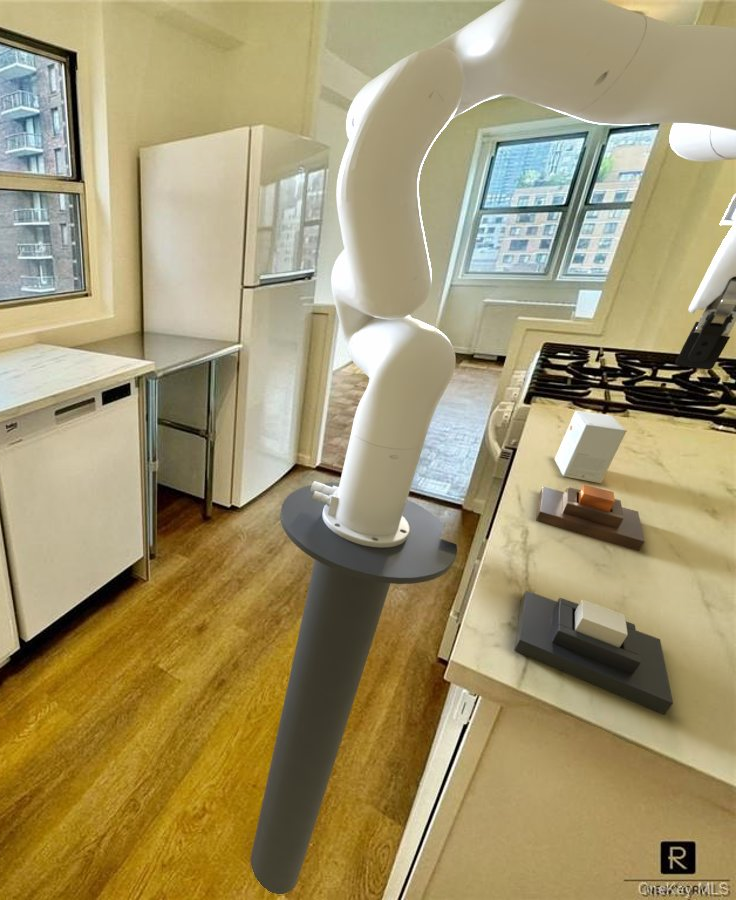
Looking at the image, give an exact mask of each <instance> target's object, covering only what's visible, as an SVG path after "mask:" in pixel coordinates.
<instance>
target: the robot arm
mask: <svg viewBox="0 0 736 900" xmlns="http://www.w3.org/2000/svg"><path fill="white" fill-rule="evenodd" d="M500 96H509V97H512V98H515V99H518V100H521V101H525V102H528V103H531V104H535V105H537V106H540V107H543V108H546V109H548V110H551V111H555V112H557V113H561V114H563V115H566V116H570V117H572V118H575V119H578V120H581V121H584V122H586V123H590V124H597V125H608V126H609V125H611V126H640V125H641V126H642V125H655V124H656V125H657V124H672V125H671V128H670V132H669V144H670V147H671V149H672V151H674V153H676V155H677V156H679V157H681V158H682V159H685V160H687V161H693V162H699V163H700V162H702V163H704V162H706V163H707V162H708V163H709V162H721V161H730V160H731V161H732V160H736V26H722V25H712V24H711V25H710V24H680V23H679V24H678V23H671V22H667V21H664V20H661V19H658V18H653V17H651V16H648V15H645V14H643V13H639V12H637V11H634V10H631V9H628V8H625V7H622V6H619V5H617V4H614V3H612V2H609V1H606V0H504V1H502V2H500V3H498V4H496V5H495V6H493V7H492V8H491V9H489V10H488V11H486V12H485V13H483V14H481V15H480V16H478V17H477V18H475V19H474V20H472V21H471V22H469V23H468V24H466V25H465V26H463V27H462V28H460V29H458V30H457V31H455V32H453V33H452V34H451V35H449V36H447V37H446V38H444V39H443V40H441V41H439V42H438V43H436V44H434V45H433V46H431V47H427V48H423V49H420V50H417V51H414V52H413V53H411V54H409V55H408V56H405V57H404V58H401V59H400V60H398V61H397V62H395V63H394V64H392V65H391V66H389V68H387V69H385V71H383V72H382V73H380V74H378V75H377V76H375V77H373V78H372V79H371V80H370V81H368V82H367V83H366V84H365V85H364V86H363V87H362V88H361V89H359V91H358V92H357V94H356V95H355V97H354V98H353V100H352V102H351V104H350V106H349V109H348V111H347V116H346V120H345V130H346V131H345V132H346V136H347V140H348V142H347V145H346V148H345V149H344V153H343V155H342V159H341V163H340V166H339V171H338V174H337V181H336V190H335V191H336V192H335V194H336V210H337V215H338V216H337V217H338V222H339V227H340V234H341V239H342V244H343V249H342V251H341V252H340V254H339V255H338V256H337V258H336V260H335V262H334V265H333V267H332V270H331V276H330V277H331V278H330V286H331V293H332V297H333V302H334V306H335V310H336V314H337V318H338V321H339V325H340V329H341V333H342V337H343V341H344V344H345V348H346V350H347V352H348V355H349V357H350V359H351V361H352V362H353V363H354V365H355V366H356V367H357V368H358V369H359V370H360V371H361V372H362V373H363V374H365V375H366V376H367V377H368V378H369V379H368V384H367V387H366V388H365V391H364V393H363V395H362V397H361V399H360V401H359V403H358V405H357V407H356V410H355V413H354V418H353V421H352V426H351V432H350V436H349V441H348V446H347V448H346V453H345V458H344V462H343V467H342V471H341V476H340V480H339V483H340V484H339V487H336V486H333V487H330V486H327V485H325V484H322V483H323V482H319V481H315V480H314V481H313V482H312V484H311V485H312V486H311V492H313V493H314V494H313V499H315V500H318V501H322V502H325V503H326V505H325V506H324V509H323V514H322V516H323V520H324V522H325V524H326V525H327V526H328V528H330V529H331V530H332V531H333V532H334V533H336V534H337V535H339V536H340V537H342V538H344V539H346V540H348V541H351V542H354V543H357V544H360V545H364V546H369V547H378V548H386V547H393V546H397V545H400V544H402V543H403V542H405V541H406V539H407V538H408V535H409V532H410V527H409V524H408V522H407V521H406V520H405V518H404V517H403V516H402V514H403V511H404V508H405V504H406V501H407V500H408V497H409V494H410V490H411V487H412V484H413V481H414V478H415V474H416V471H417V467H418V465H419V461H420V458H421V455H422V451H423V448H424V445H425V441H426V439H427V434H428V432H429V427H430V425H431V422H432V419H433V417H434V414H435V412H436V409H437V407H438V404H439V403H440V401H441V399H442V396H443V395H444V393H446V392H445V391H446V390H447V388H448V386H449V384H450V383H451V380H452V378H453V376H454V372H455V370H456V361H457V360H456V352H455V349H454V347H453V344H452V343H451V340H450V339H449V338H448V337H447V336H446V335H445V334H444V333H443V332H442V331H440V330H439V329H438V328H435V327H434V326H432V325H430V324H427V323H426V322H423V321H421V320H419V319H416V318H413V317H411V315H412V314H414V313H416V312H417V311H418V310H419V309H420V308H421V307H422V306H423V305H424V304H425V303H426V301H427V299H428V297H429V295H430V292H431V289H432V282H433V281H432V267H431V261H430V258H429V252H428V246H427V242H426V236H425V231H424V230H425V229H424V226H423V220H422V214H421V205H420V196H419V195H420V193H419V184H420V183H419V182H420V175H421V170H422V167H423V164H424V161H425V159H426V157H427V155H428V153H429V151H430V149H431V147H432V146H433V144H434V142H435V141H436V139H437V138H438V137H439V135H440V134H441V132H443V131H444V129H445V128H446V127H447V125H448V124H449V123H450V122H451V120H452V119H455V118H456V117H458V116H461V114H463V113H465V112H467V111H468V110H470V109H472V108H474V107H477V105H480V104H481V103H483V102H486V101H487V102H488V101H489V100H492V99H496V98H498V97H500ZM719 225H720V226H732V227H731V228H730V230H729V231H728V233H727V235H726V236H725V238H724V239H723V240H722V242H721V245H720V246H719V248H718V249H717V252H716V253H715V255H714V257H713V259H712V261H711V263H710V265H709V267H708V269H707V270H706V272H705V275H704V277H703V278H702V281H701V282H700V284H699V286H698V289H697V290H696V292H695V294H694V296H693V299H692V300H691V302H690V304H689V307H688V309H687V311H688V313H690V314H695V312H696V311H697V310H701V311H703V313H702V315H701V316H700V319H699V321H695V322H694V325H693V326H692V329H691V330H690V333H689V335H688V336H687V339H686V340H685V342H684V344H683V346H682V347H681V350H680V352H679V354H678V356H677V358H676V359H675V365H676V366H682V367H689V368H693V369H699V370H700V369H701V370H705V371H706V370H707V371H709V370H712V369H713V368H714V367H715V365H716V363H717V361H718V360H719V358H720V356H721V354H722V353H723V351H724V349H725V347H726V345H727V343H728V342H729V340H730V338H731V336H730V333H731V331H732V329H733V327H735V324H736V193H735V194H734V195H733V196H732V199H731V202H730V203H729V205H728V208H727V209H726V211H725V213H724V215H723V217H722V219H721V221H720V223H719Z"/></svg>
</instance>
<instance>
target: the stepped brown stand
mask: <svg viewBox="0 0 736 900" xmlns="http://www.w3.org/2000/svg"><path fill="white" fill-rule="evenodd" d="M580 490H581V489H579V488H574V487H570V486H566V489H565V491H562V490H558V489H554V488H551V487H546V486H542V487H541V490H540V491H539V494H538V502H537V509H536V518H535V520H536V521H538V522H540V523H543V524H547V525H550V526H553V527H557V528H561V529H564V530H567V531H570V532H573V533H577V534H581V535H583V536H588V537H591V538H595V539H598V540H601V541H603V542H608V543H611V544H615V545H619V546H621V547H625V548H628V549H631V550H634V551H637V552H638V551H641V549H642V547H643V546H644V544H645V541H646V540H645V537H644V531H643V527H642V523H641V519H640V514H639V511H637V510H634V509H630V508H626V507H623V506H622V501H621V499H616V498H614V499H615V503H614V504H613V506H612V508H611V510H610V512H609V511H606V510H602V509H598V508H594V507H591V506H587V505H583V504H579V503H578V494H579V492H580Z"/></svg>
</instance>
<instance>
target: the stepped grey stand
mask: <svg viewBox="0 0 736 900" xmlns="http://www.w3.org/2000/svg"><path fill="white" fill-rule="evenodd" d="M578 605H579V603H578V602H574V601H571V600H568V599H566V598H563V597H558V599H557V601H556V600H554V599H551V598H549V597H546V596H543V595H541V594H537V593H535V592H532V591H529V590H525V591H524V593H523V595H522V596H521V599H520V606H519V612H518V619H517V628H516V635H515V643H514V652H517V653H519V654H521V655H524V656H525V657H529V658H531V659H533V660H536V661H538V662H540V663H543V664H545V665H547V666H550V667H551V668H555V669H557V670H558V671H561V672H564V673H566V674H568V675H570V676H572V677H575V678H577V679H579V680H582V681H585V682H587V683H589V684H591V685H594V686H596V687H598V688H601V689H603V690H605V691H607V692H610V693H613V694H615V695H617V696H620V697H622V698H624V699H627V700H629V701H631V702H634V703H636V704H638V705H641V706H643V707H645V708H647V709H649V710H652V711H655V712H657V713H659V714H662V715H666V714H667V712H668V711H669V710H670V708H671V707H672V705H673V704H674V702H673V701H674V700H673V696H672V692H671V687H670V682H669V675H668V672H667V667H666V666H667V665H666V662H665V657H664V652H663V647H662V643H661V642H662V641H661V639H660V638H658V637H656V636H652V635H650V634H647V633H644V632H641V631H639V630H637V629H636V624H635V623H632V622H629V621H627V620H626V626H627V634H628V635H627V637H626V638H625V640H624V641H623V643H622V645H621V646H620V648H619V647H616V646H613V645H611V644H608V643H606V642H603V641H601V640H598V639H595V638H593V637H590V636H588V635H585V634H582V633H580V632H577V631H575V630H574V612H575V611H576V609H577V607H578Z"/></svg>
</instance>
